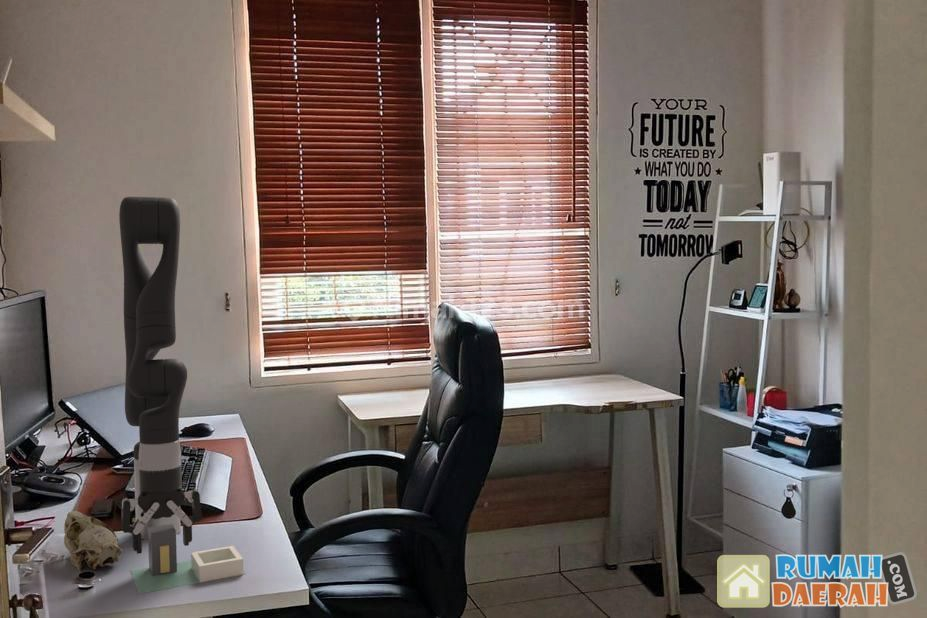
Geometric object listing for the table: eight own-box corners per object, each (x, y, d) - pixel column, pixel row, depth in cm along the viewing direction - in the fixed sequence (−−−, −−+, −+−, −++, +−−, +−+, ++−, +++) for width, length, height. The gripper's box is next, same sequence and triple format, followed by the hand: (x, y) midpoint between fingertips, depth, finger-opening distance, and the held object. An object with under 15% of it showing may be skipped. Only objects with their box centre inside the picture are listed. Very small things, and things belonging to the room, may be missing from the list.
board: (130, 576, 161) (130, 570, 161) (231, 558, 170) (231, 553, 170) (139, 598, 151) (139, 593, 150) (246, 578, 160) (246, 573, 159)
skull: (90, 539, 176) (94, 497, 173) (130, 579, 166) (134, 535, 163) (43, 554, 168) (46, 510, 165) (81, 596, 159) (85, 550, 156)
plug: (149, 568, 162) (147, 527, 162) (173, 564, 164) (171, 523, 164) (153, 577, 158) (151, 535, 157) (177, 572, 160) (176, 531, 159)
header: (191, 567, 162) (191, 552, 162) (233, 560, 166) (233, 545, 166) (199, 582, 155) (199, 566, 155) (243, 574, 159) (243, 558, 159)
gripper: (195, 456, 166) (197, 536, 167) (117, 464, 160) (120, 549, 161) (202, 463, 160) (205, 548, 161) (122, 473, 153) (125, 561, 154)
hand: (162, 548), depth 161 cm, fingers open, 8 cm apart
